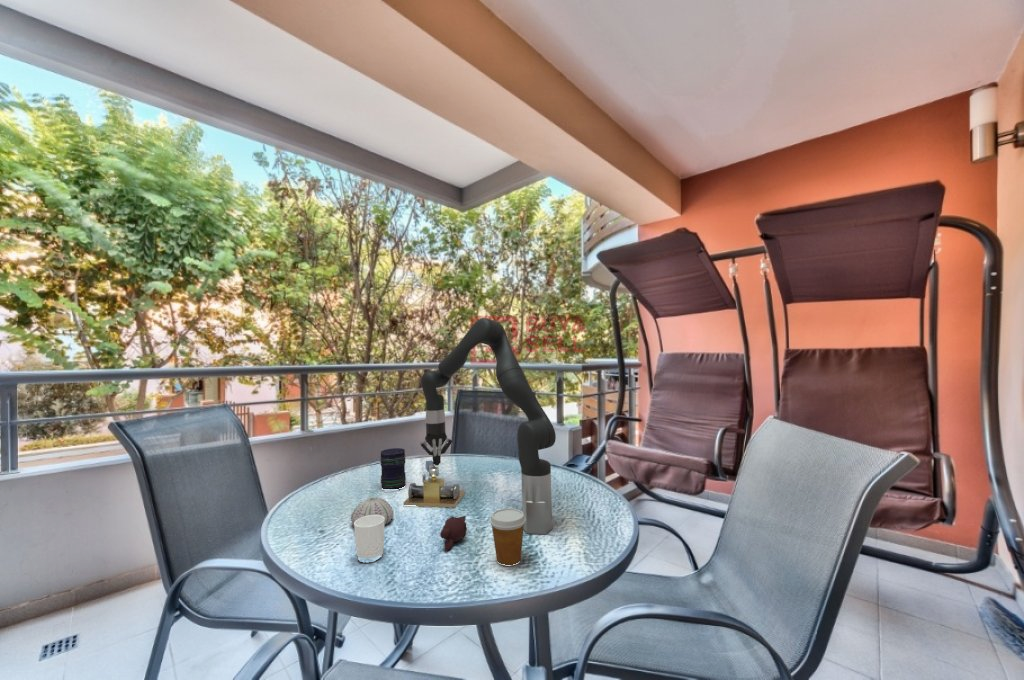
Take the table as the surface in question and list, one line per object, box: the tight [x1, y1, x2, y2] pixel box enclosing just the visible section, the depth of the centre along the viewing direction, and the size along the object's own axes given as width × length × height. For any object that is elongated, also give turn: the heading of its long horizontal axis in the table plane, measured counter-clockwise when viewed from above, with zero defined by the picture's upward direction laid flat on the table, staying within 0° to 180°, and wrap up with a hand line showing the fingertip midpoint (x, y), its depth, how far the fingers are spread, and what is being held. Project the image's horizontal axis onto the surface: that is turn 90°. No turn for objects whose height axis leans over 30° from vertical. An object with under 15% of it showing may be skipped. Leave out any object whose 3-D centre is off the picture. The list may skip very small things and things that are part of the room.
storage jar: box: [379, 447, 407, 489], centre depth 167 cm, size 10×10×15 cm
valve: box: [403, 473, 466, 509], centre depth 152 cm, size 14×19×10 cm
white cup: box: [353, 515, 386, 558], centre depth 111 cm, size 8×8×10 cm
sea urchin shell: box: [350, 496, 395, 526], centre depth 133 cm, size 13×14×8 cm
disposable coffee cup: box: [489, 507, 526, 565], centre depth 108 cm, size 10×10×12 cm
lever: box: [425, 459, 440, 478], centre depth 155 cm, size 13×4×3 cm, turn 21°
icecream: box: [439, 515, 467, 551], centre depth 120 cm, size 7×7×15 cm
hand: (436, 464), depth 160 cm, fingers closed
